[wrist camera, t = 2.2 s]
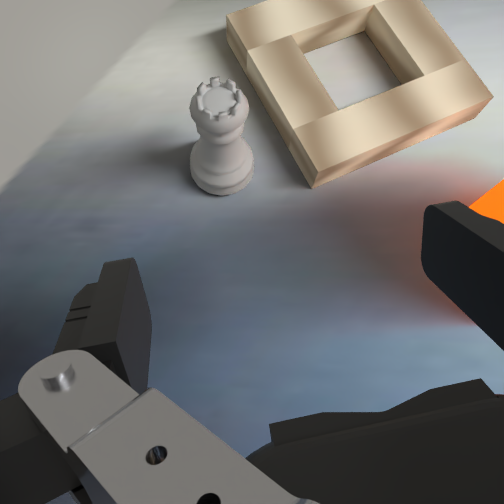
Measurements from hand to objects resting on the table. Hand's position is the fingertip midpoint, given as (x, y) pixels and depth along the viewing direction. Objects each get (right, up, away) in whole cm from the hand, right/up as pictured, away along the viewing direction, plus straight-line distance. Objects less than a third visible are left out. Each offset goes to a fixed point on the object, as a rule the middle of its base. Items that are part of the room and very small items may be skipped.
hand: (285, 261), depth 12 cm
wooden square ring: (+6, +14, +21) cm, 26 cm away
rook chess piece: (-3, +6, +19) cm, 20 cm away
